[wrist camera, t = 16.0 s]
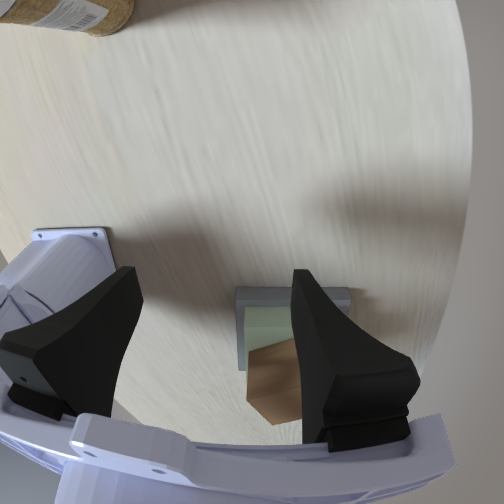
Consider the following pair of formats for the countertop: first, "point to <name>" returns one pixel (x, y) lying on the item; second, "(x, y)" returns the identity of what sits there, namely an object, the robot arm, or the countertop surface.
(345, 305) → the tower base
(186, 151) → the countertop surface
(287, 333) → the tower top
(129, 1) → the sprinkles bottle
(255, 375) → the walnut block
